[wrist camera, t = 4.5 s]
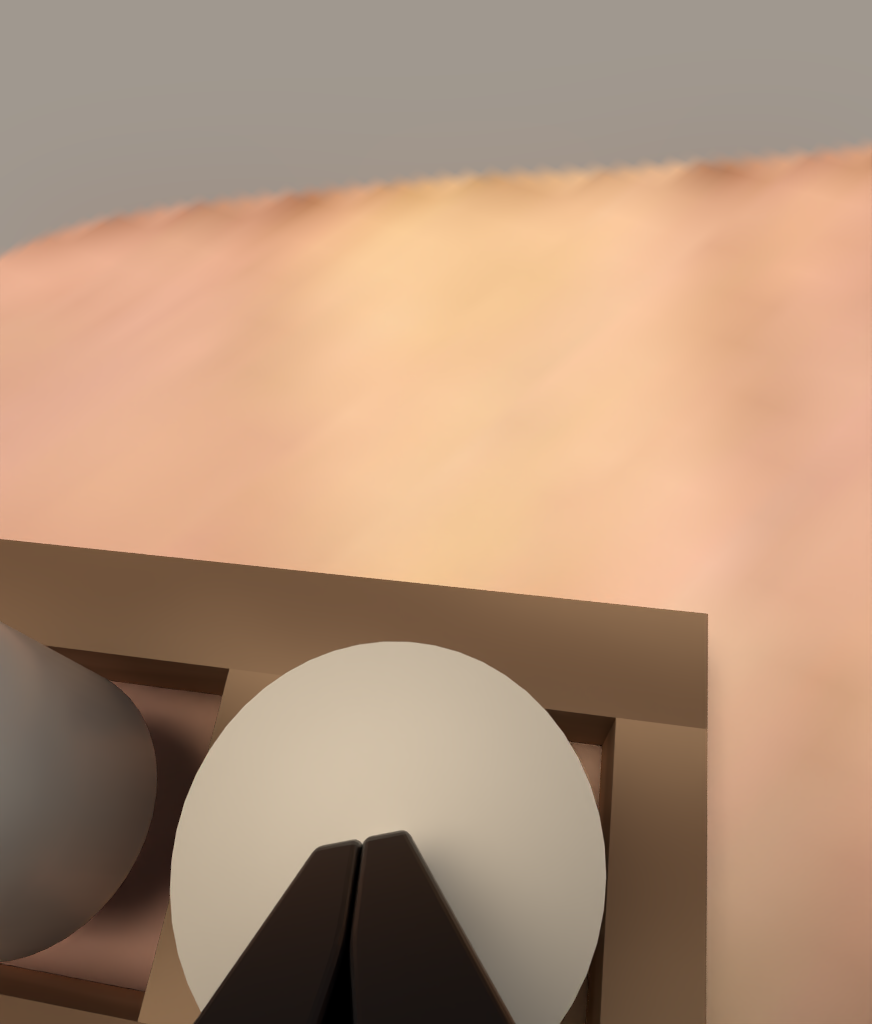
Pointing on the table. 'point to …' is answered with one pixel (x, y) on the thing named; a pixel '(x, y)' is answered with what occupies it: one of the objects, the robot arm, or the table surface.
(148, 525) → the table surface
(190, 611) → the brown slotted rack
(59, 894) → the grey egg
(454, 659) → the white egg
